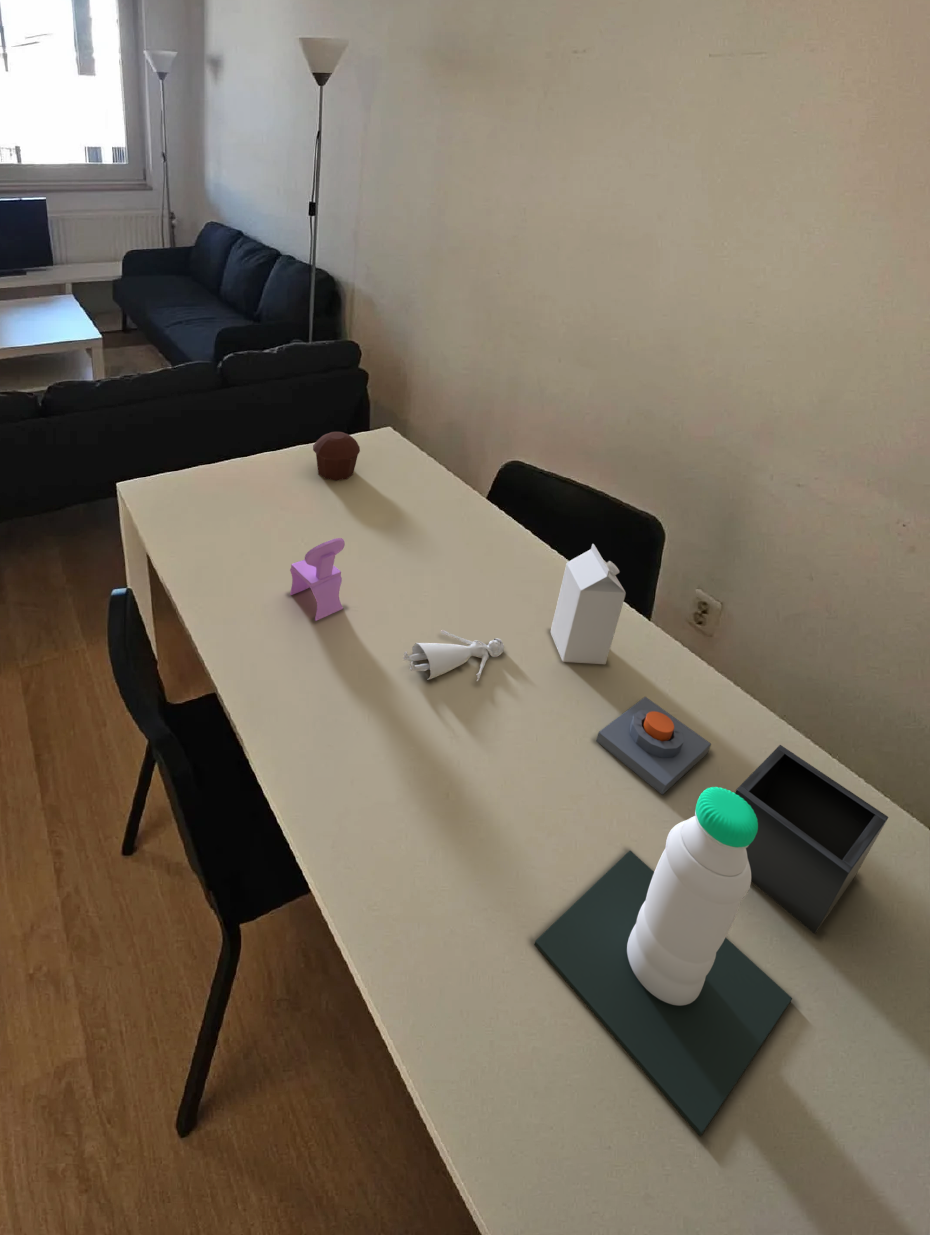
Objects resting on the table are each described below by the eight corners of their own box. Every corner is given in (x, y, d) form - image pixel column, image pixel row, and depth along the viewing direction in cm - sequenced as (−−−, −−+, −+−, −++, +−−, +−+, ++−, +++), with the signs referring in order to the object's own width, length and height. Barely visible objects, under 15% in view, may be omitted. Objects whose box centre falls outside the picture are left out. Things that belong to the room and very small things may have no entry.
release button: (652, 716, 98) (655, 707, 98) (676, 733, 96) (679, 724, 95) (638, 727, 96) (641, 718, 96) (662, 745, 94) (665, 736, 93)
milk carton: (562, 663, 112) (586, 569, 104) (549, 633, 119) (571, 542, 111) (605, 666, 112) (632, 572, 104) (590, 635, 118) (614, 544, 111)
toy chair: (320, 581, 129) (324, 514, 123) (348, 608, 122) (354, 538, 116) (283, 596, 124) (285, 527, 118) (310, 625, 118) (314, 553, 112)
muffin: (338, 456, 175) (340, 421, 171) (367, 474, 168) (370, 437, 164) (302, 469, 169) (303, 433, 165) (331, 488, 161) (333, 450, 157)
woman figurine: (393, 626, 112) (486, 612, 118) (389, 648, 113) (481, 632, 120) (426, 679, 102) (526, 660, 108) (421, 701, 103) (520, 681, 109)
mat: (628, 855, 83) (630, 849, 83) (789, 1003, 70) (792, 998, 69) (533, 946, 74) (535, 940, 73) (699, 1138, 60) (702, 1133, 60)
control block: (641, 706, 104) (648, 687, 103) (707, 754, 97) (715, 734, 95) (595, 742, 98) (601, 722, 96) (661, 797, 91) (669, 776, 89)
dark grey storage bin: (753, 803, 90) (780, 744, 86) (853, 878, 82) (888, 816, 77) (710, 850, 84) (736, 789, 80) (813, 936, 76) (849, 873, 71)
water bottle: (700, 955, 73) (774, 795, 63) (697, 1025, 67) (778, 861, 57) (629, 917, 76) (689, 759, 66) (621, 981, 70) (684, 818, 60)
